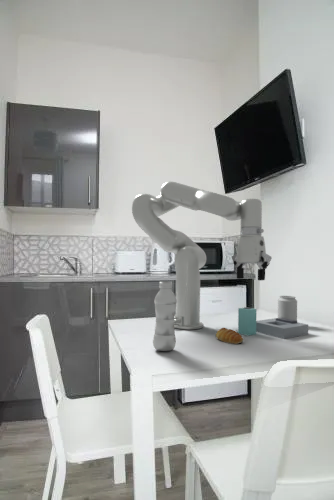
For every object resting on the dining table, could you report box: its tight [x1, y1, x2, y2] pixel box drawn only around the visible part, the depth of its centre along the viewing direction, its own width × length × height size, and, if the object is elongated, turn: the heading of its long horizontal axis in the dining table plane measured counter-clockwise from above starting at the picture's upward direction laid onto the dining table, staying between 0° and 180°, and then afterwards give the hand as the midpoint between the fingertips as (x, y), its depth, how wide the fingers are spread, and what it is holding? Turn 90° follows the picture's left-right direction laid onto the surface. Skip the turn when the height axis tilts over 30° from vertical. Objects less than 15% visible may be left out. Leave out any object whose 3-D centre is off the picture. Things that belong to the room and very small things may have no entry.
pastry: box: [215, 327, 244, 345], centre depth 107 cm, size 9×7×4 cm
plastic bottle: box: [152, 280, 177, 352], centre depth 95 cm, size 6×7×20 cm
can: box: [277, 295, 298, 321], centre depth 134 cm, size 8×8×12 cm
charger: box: [237, 306, 257, 336], centre depth 118 cm, size 4×4×9 cm
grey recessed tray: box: [256, 317, 309, 340], centre depth 121 cm, size 14×14×4 cm
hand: (250, 279), depth 119 cm, fingers open, 9 cm apart
